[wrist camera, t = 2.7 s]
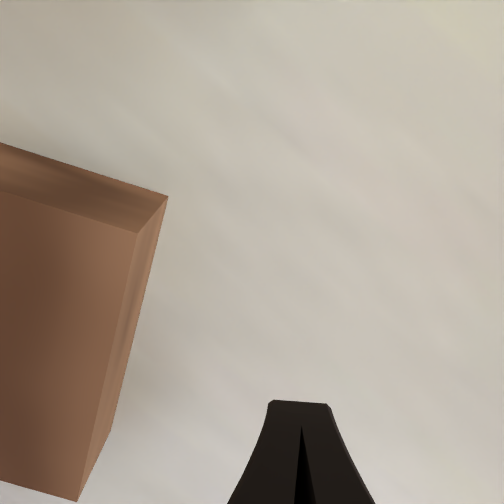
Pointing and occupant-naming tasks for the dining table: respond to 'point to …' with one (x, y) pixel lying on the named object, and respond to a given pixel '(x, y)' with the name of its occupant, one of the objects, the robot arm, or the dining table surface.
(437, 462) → the dining table surface
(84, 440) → the slab
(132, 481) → the dining table surface
